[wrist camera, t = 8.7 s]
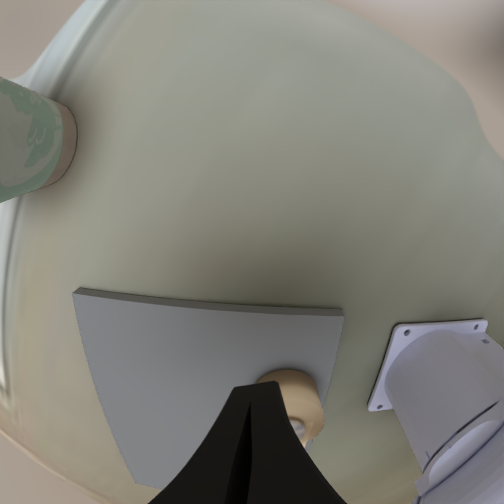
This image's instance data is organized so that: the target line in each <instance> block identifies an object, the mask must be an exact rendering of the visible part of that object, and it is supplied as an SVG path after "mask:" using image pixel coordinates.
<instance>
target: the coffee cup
mask: <svg viewBox="0 0 504 504" xmlns="http://www.w3.org/2000/svg"><path fill="white" fill-rule="evenodd" d="M76 142H77V128H76V123H75V120H74V117H73V115H72V113H71V112H70V110H69V109H68V108H67V107H65V106H64V105H62V104H60V103H58V102H55V101H53V100H51V99H49V98H47V97H45V96H43V95H41V94H38V93H36V92H34V91H32V90H30V89H27V88H25V87H23V86H21V85H18V84H16V83H14V82H12V81H9V80H7V79H5V78H2V77H0V203H1V202H4V201H6V200H9V199H12V198H14V197H17V196H20V195H22V194H25V193H28V192H31V191H34V190H36V189H39V188H42V187H45V186H48V185H51V184H53V183H55V182H56V181H58V180H59V179H60V178H61V177H62V176H63V175H64V173H65V172H66V171H67V169H68V167H69V165H70V163H71V161H72V159H73V156H74V153H75V149H76Z"/></svg>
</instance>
